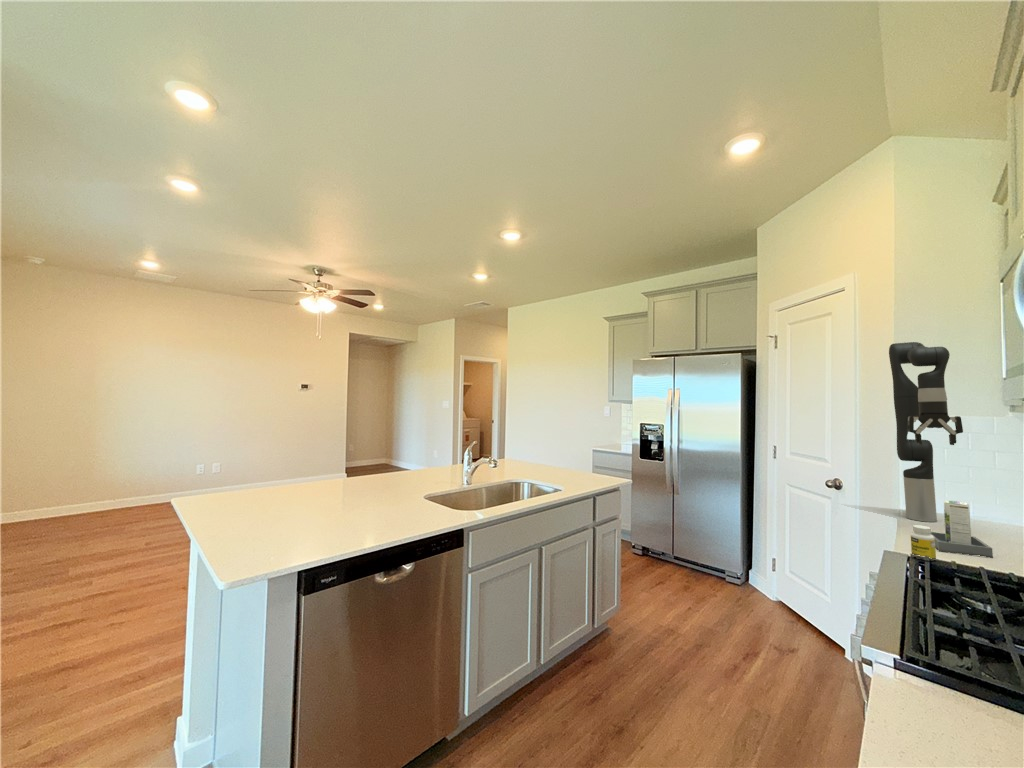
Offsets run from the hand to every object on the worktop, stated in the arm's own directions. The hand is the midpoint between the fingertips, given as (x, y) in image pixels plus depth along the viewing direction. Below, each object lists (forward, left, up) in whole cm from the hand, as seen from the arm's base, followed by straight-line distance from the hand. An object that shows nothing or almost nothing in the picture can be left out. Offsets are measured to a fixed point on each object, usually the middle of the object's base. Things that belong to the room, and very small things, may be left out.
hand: (935, 444), depth 154 cm
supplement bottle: (+35, -12, -33) cm, 50 cm away
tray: (+16, 0, -33) cm, 37 cm away
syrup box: (+16, 0, -33) cm, 36 cm away
